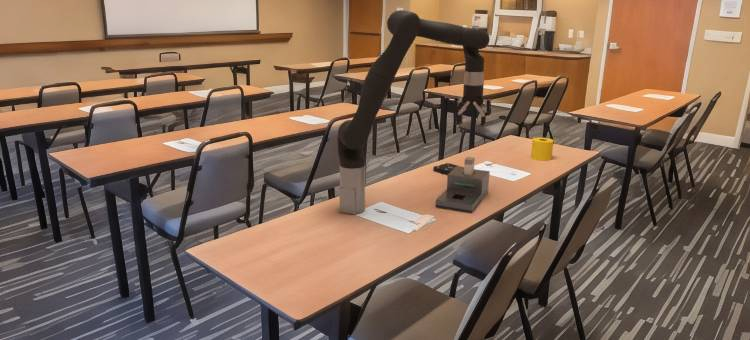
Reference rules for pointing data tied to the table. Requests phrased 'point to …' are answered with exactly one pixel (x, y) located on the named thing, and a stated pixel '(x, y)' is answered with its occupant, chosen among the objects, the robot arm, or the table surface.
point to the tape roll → (542, 149)
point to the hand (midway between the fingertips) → (471, 124)
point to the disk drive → (445, 168)
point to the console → (464, 190)
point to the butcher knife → (423, 221)
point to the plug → (469, 166)
